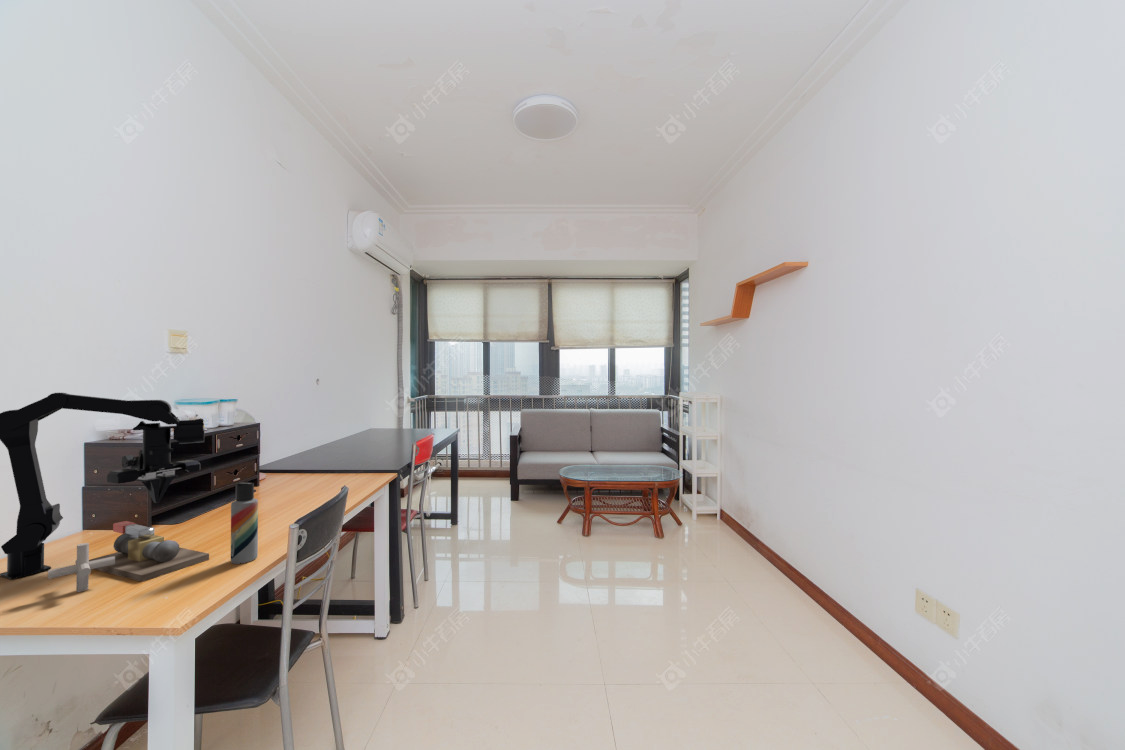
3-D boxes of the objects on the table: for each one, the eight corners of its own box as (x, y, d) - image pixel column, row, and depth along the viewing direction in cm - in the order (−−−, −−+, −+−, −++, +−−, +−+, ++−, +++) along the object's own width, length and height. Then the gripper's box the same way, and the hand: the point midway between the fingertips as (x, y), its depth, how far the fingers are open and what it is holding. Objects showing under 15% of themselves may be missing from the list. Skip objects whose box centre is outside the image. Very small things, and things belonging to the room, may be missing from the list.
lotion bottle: (225, 562, 113) (225, 483, 113) (247, 554, 118) (248, 479, 119) (240, 565, 111) (241, 485, 112) (262, 557, 116) (263, 480, 117)
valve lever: (156, 535, 114) (156, 527, 114) (142, 539, 112) (142, 531, 112) (126, 528, 120) (126, 520, 121) (112, 531, 118) (112, 523, 118)
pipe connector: (111, 576, 105) (112, 533, 106) (117, 588, 99) (117, 542, 99) (46, 591, 98) (47, 545, 98) (48, 605, 91) (49, 556, 92)
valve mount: (85, 566, 111) (85, 540, 111) (153, 547, 124) (154, 524, 124) (141, 581, 102) (142, 553, 102) (209, 559, 115) (209, 534, 115)
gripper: (178, 440, 134) (177, 492, 134) (95, 449, 117) (94, 508, 117) (201, 441, 130) (201, 495, 130) (119, 451, 113) (119, 512, 112)
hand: (156, 502), depth 122 cm, fingers closed
